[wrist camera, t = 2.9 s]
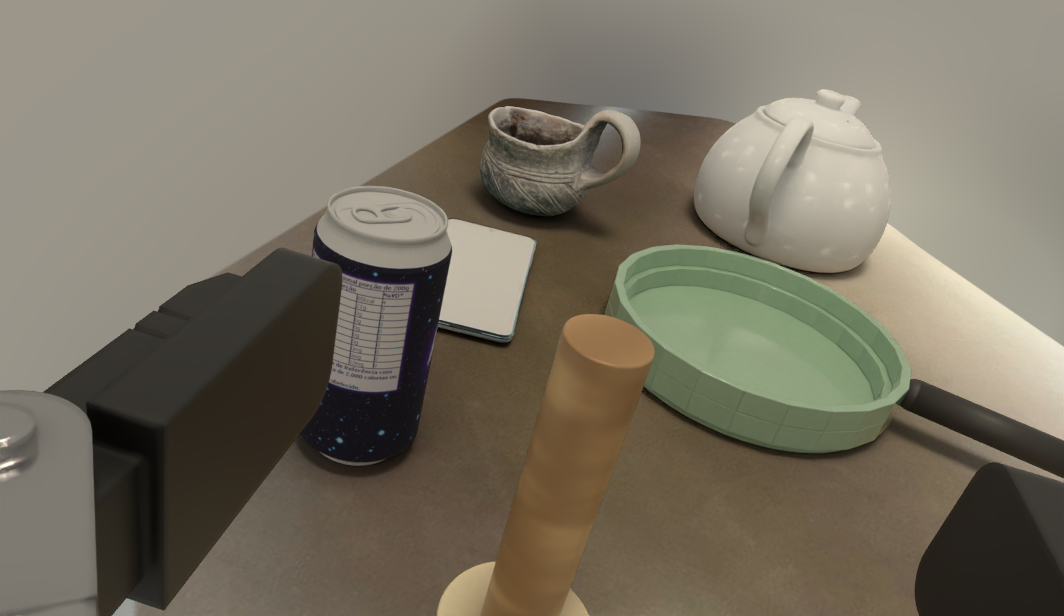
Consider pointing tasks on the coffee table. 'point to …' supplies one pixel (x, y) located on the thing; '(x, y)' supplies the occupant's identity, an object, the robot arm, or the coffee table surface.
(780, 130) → the teapot
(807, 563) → the coffee table surface
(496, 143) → the mug
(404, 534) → the coffee table surface
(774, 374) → the pan
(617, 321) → the brush
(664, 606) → the coffee table surface
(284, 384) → the robot arm
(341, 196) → the beverage can
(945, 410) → the pan handle
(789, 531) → the coffee table surface
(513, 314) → the smartphone
